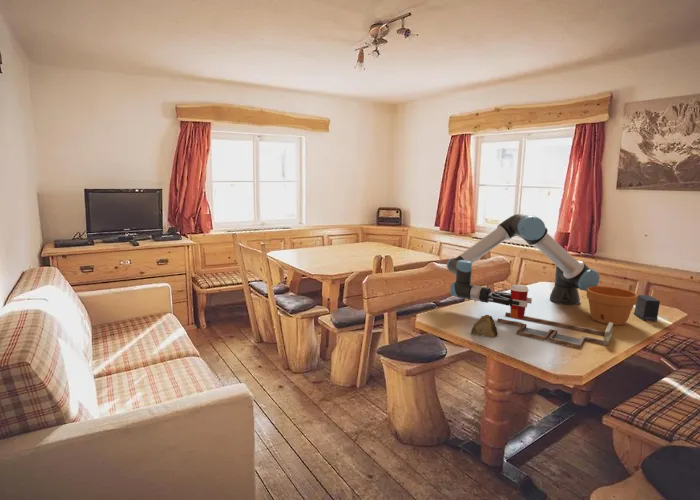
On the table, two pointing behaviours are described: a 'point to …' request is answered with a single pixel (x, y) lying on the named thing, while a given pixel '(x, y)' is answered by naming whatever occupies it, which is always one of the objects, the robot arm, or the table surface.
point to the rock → (485, 327)
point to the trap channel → (557, 337)
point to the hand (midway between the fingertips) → (529, 302)
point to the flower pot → (610, 304)
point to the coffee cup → (519, 294)
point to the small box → (647, 308)
